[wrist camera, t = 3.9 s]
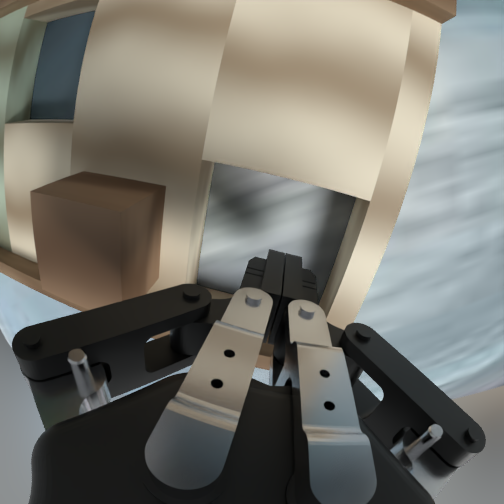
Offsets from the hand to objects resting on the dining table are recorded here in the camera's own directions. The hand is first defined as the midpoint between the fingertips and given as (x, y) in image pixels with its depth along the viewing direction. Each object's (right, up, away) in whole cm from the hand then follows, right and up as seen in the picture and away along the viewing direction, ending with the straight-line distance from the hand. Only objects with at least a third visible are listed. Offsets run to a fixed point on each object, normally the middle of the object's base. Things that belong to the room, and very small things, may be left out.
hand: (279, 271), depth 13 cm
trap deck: (-9, +8, +1) cm, 12 cm away
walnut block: (-8, +2, +1) cm, 8 cm away
